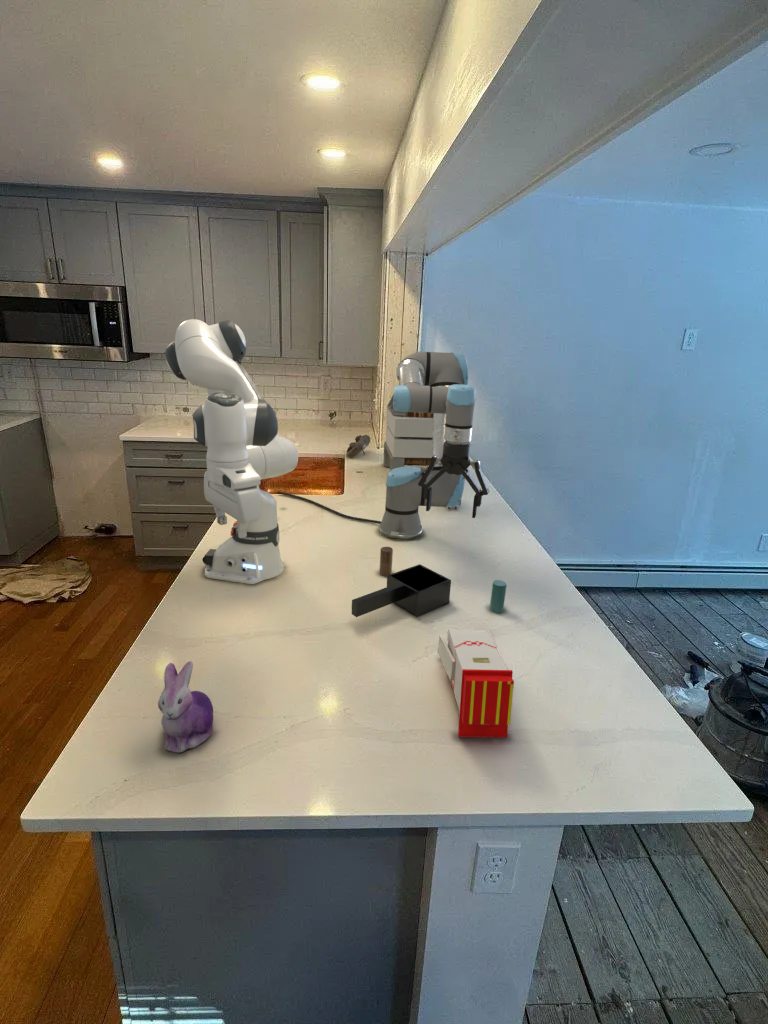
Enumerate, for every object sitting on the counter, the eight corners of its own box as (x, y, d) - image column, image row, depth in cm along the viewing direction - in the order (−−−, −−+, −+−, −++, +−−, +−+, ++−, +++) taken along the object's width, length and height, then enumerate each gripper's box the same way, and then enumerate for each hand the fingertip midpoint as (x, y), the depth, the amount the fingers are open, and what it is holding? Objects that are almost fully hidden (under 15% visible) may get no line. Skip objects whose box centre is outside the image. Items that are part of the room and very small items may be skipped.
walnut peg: (377, 572, 170) (378, 548, 167) (386, 569, 172) (387, 545, 169) (384, 577, 167) (386, 552, 165) (393, 574, 170) (395, 549, 167)
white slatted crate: (382, 463, 289) (386, 382, 275) (445, 464, 293) (451, 384, 279) (390, 482, 257) (394, 392, 243) (460, 483, 261) (468, 394, 247)
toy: (488, 613, 130) (523, 677, 101) (484, 667, 133) (517, 744, 104) (435, 612, 130) (455, 676, 101) (432, 666, 133) (451, 743, 103)
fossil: (346, 440, 314) (367, 425, 309) (357, 454, 317) (378, 439, 312) (340, 454, 295) (362, 438, 290) (351, 468, 298) (374, 453, 293)
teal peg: (486, 608, 152) (490, 582, 149) (495, 604, 154) (498, 578, 152) (497, 614, 150) (500, 587, 147) (505, 610, 152) (509, 583, 149)
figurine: (165, 763, 97) (157, 690, 92) (158, 725, 105) (150, 656, 100) (221, 746, 101) (217, 675, 96) (210, 711, 109) (205, 644, 104)
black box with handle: (339, 616, 145) (339, 591, 143) (418, 586, 163) (419, 564, 160) (369, 637, 136) (370, 611, 134) (449, 603, 154) (451, 580, 152)
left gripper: (194, 461, 127) (198, 519, 132) (236, 484, 113) (239, 548, 118) (221, 458, 131) (224, 514, 136) (264, 479, 117) (266, 541, 121)
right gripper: (410, 439, 158) (406, 510, 165) (500, 449, 151) (491, 523, 158) (417, 434, 165) (413, 503, 172) (504, 443, 158) (495, 515, 165)
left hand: (231, 530), depth 127 cm, fingers open, 8 cm apart
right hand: (450, 513), depth 165 cm, fingers open, 13 cm apart
